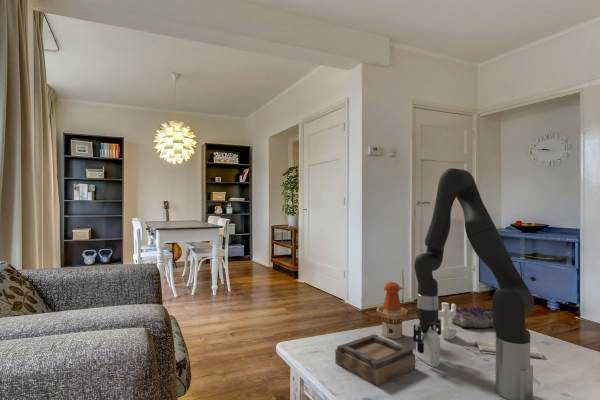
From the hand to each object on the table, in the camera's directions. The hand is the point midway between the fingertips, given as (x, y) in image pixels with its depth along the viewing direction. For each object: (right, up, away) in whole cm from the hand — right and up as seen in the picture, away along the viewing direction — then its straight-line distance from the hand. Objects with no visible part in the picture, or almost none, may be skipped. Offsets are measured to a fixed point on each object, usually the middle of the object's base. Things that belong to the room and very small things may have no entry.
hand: (427, 349), depth 132 cm
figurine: (+16, -5, +23) cm, 29 cm away
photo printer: (0, -4, 0) cm, 4 cm away
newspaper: (+36, -5, +9) cm, 37 cm away
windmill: (-7, -4, +24) cm, 25 cm away
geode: (+36, -5, +38) cm, 53 cm away
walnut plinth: (-21, -4, -4) cm, 21 cm away
